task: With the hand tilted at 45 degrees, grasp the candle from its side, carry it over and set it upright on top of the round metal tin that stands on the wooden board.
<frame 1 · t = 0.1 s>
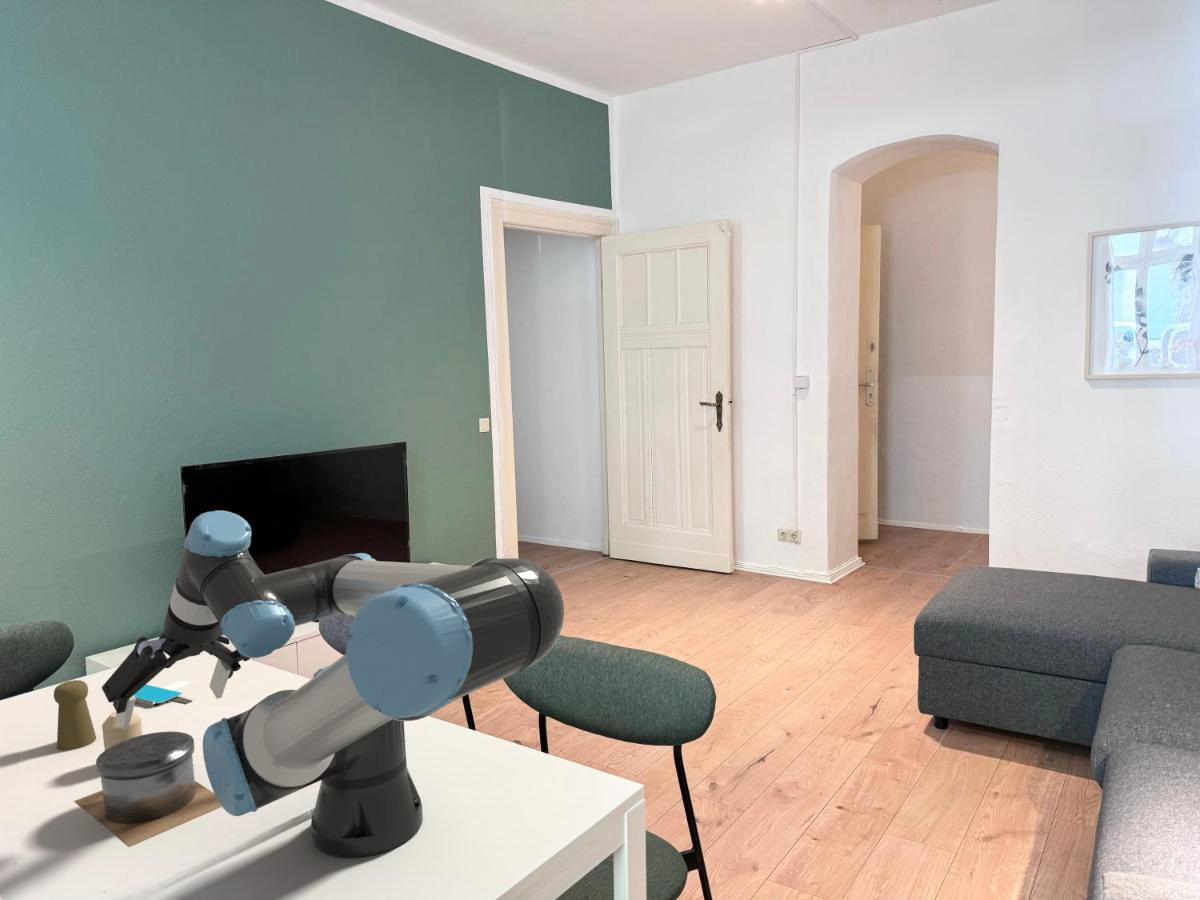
hand: (170, 706, 128), 15 cm above the table, tool tilted 35°, fingers open, 13 cm apart
wooden board: (152, 811, 128), on the table
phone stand: (160, 696, 174), on the table
candle: (126, 772, 141), on the table
round metal tin: (151, 801, 128), resting on wooden board
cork: (76, 743, 153), on the table
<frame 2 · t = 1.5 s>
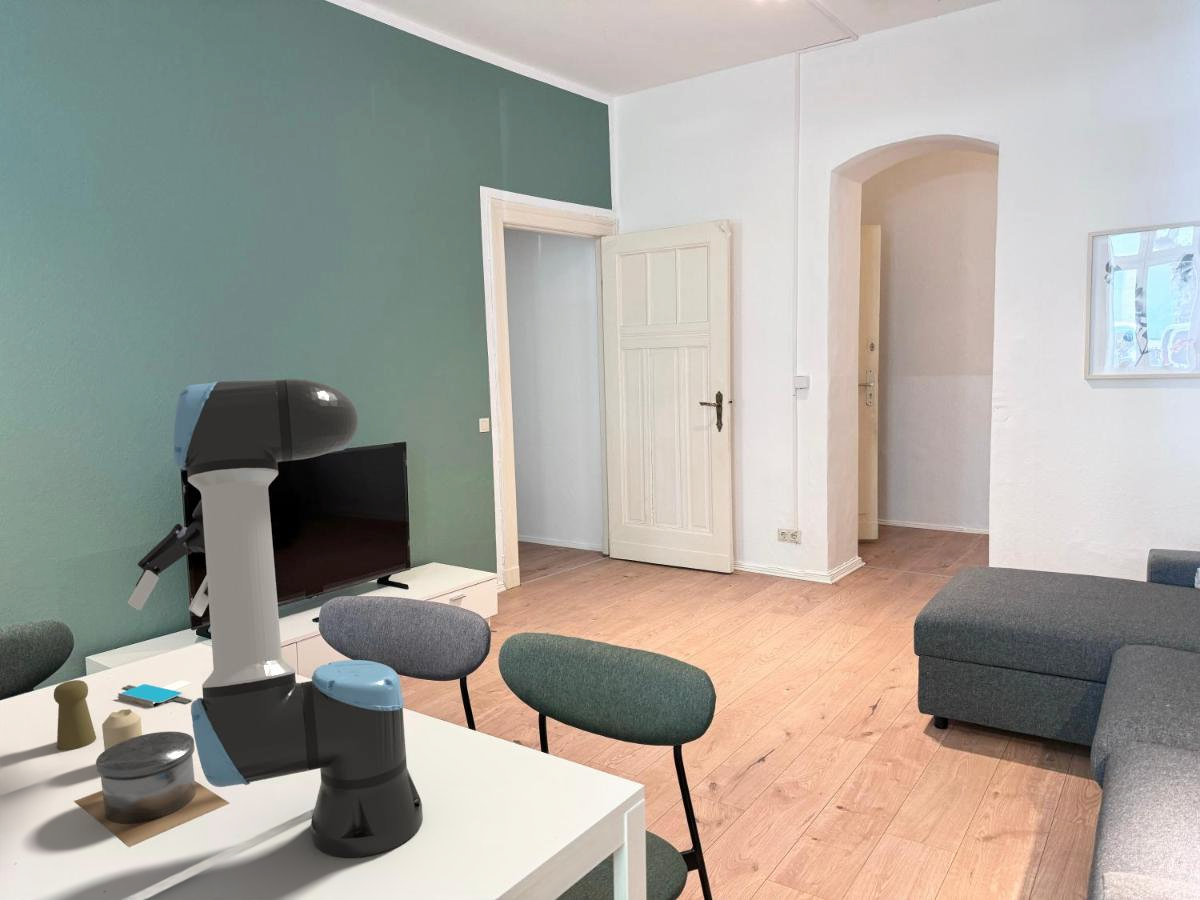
hand: (163, 609, 148), 24 cm above the table, tool tilted 45°, fingers open, 13 cm apart
nothing on the table moved.
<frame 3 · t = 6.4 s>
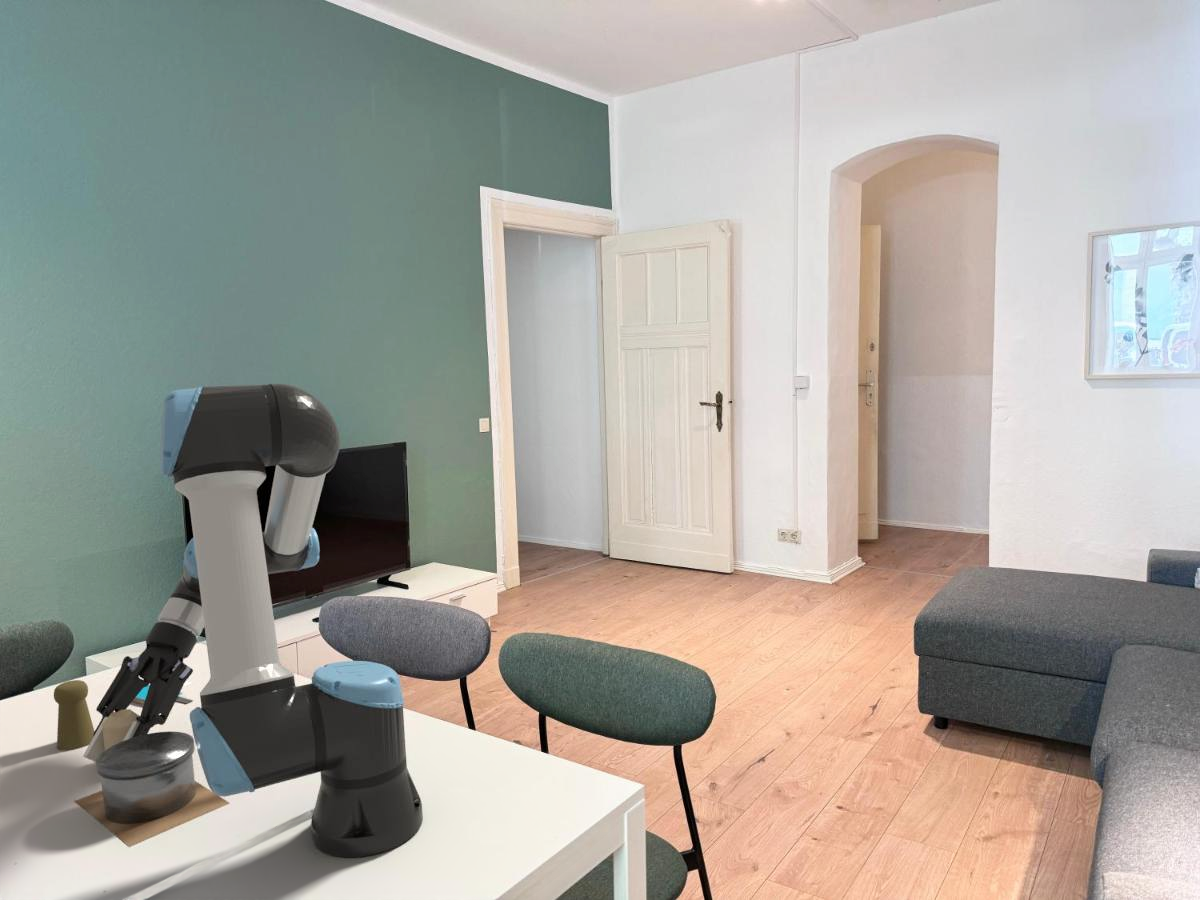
hand: (104, 761, 138), 3 cm above the table, tool tilted 45°, fingers closed on candle, 5 cm apart
candle: (126, 771, 142), on the table, touching gripper
everything else where it was.
when the fingers open (14 cm above the table, at t = 11.1 s): candle drops 1 cm, resting on round metal tin.
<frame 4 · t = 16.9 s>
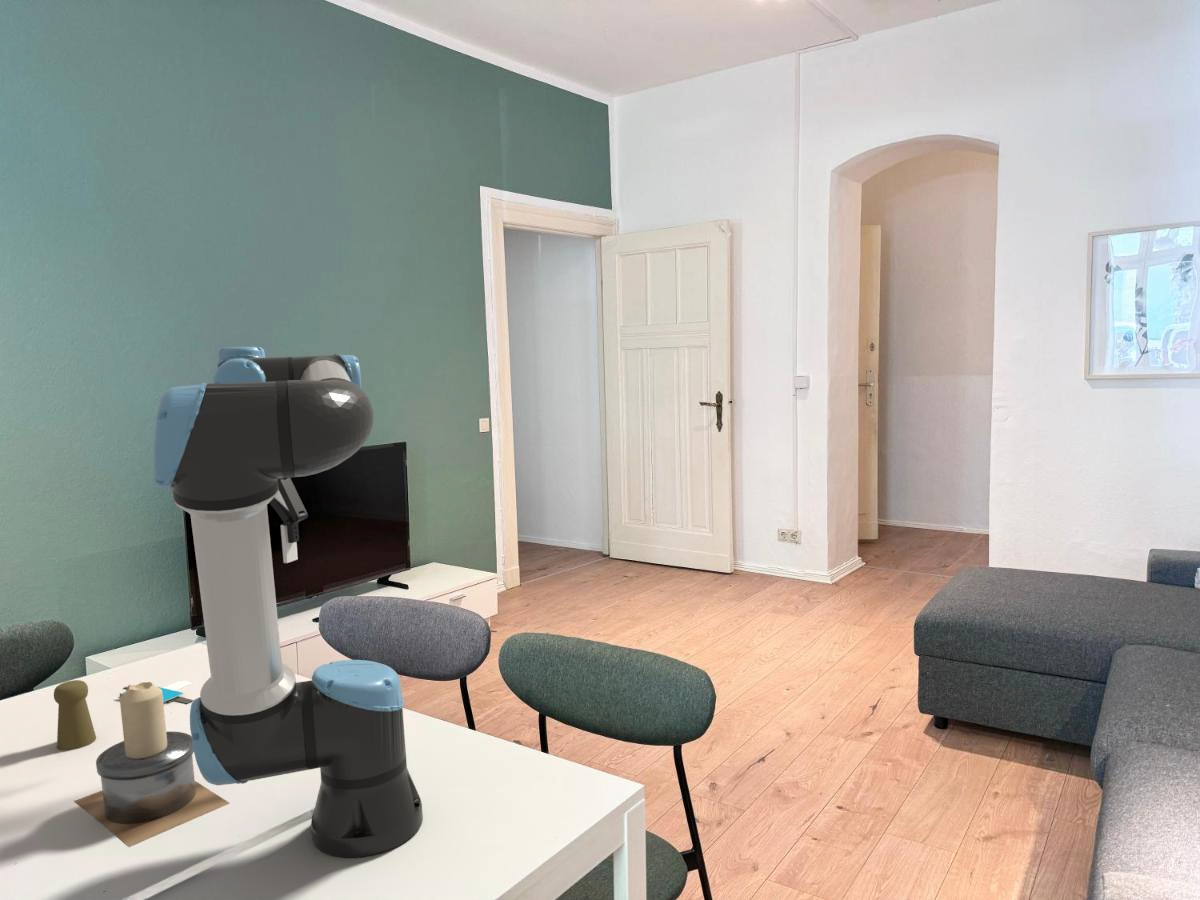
hand: (258, 559, 150), 32 cm above the table, tool pointing down, fingers open, 13 cm apart
candle: (147, 751, 127), point 9 cm above the table, touching round metal tin
everything else where it was.
at the end: candle inside the target area on the round metal tin (0.1 cm from its centre), point 7.8 cm above the round metal tin's base; candle tilted 0° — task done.
